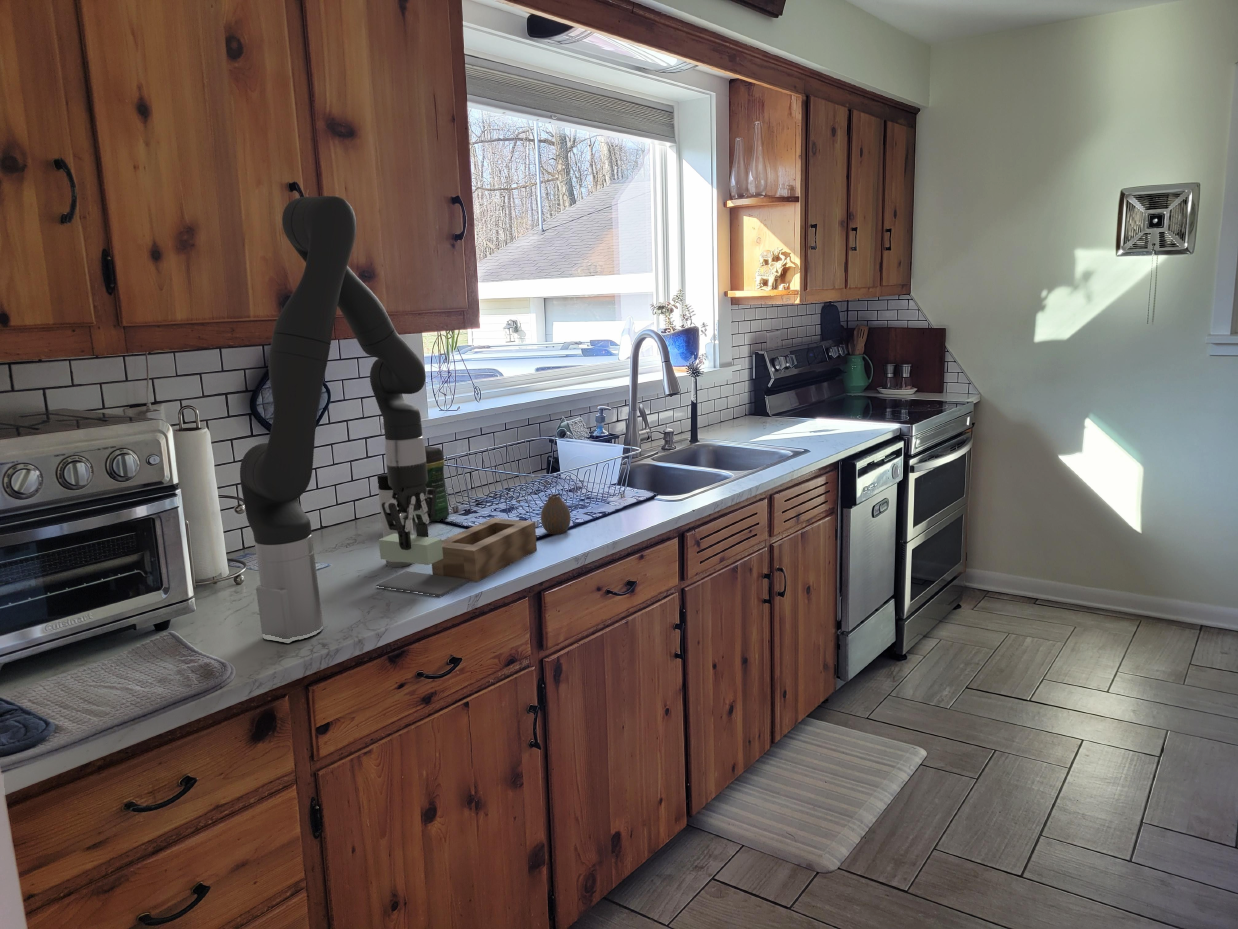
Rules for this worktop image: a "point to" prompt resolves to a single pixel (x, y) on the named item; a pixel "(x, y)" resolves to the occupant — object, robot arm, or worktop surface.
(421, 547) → the block
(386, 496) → the travel mug
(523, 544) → the brown wooden box
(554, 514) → the vase
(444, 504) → the coffee jar
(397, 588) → the grey flat plate
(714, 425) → the worktop surface
